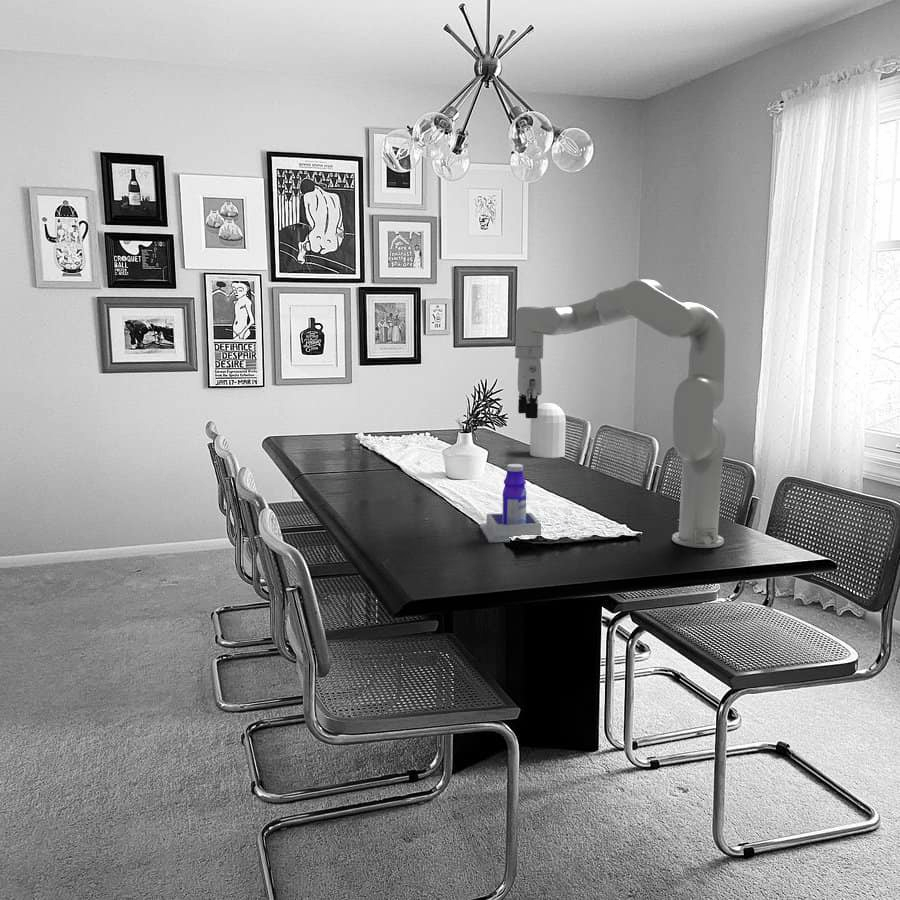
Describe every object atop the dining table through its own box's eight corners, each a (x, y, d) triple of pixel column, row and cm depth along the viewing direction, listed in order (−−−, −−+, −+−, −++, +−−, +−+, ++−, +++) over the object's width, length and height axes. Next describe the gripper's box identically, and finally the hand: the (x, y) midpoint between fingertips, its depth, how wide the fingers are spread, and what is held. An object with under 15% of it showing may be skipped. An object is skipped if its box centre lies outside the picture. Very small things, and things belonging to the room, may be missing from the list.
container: (525, 451, 359) (526, 400, 356) (558, 451, 362) (560, 400, 358) (535, 458, 346) (536, 405, 343) (569, 457, 349) (571, 404, 345)
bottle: (520, 535, 235) (521, 468, 232) (498, 533, 237) (500, 466, 234) (528, 529, 241) (530, 463, 238) (508, 526, 243) (509, 461, 240)
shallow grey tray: (547, 540, 233) (548, 525, 232) (489, 542, 231) (489, 526, 230) (535, 525, 248) (535, 511, 247) (479, 527, 246) (480, 512, 245)
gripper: (550, 355, 242) (548, 420, 245) (535, 350, 259) (534, 411, 262) (521, 355, 241) (520, 420, 244) (509, 350, 258) (508, 411, 261)
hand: (527, 415), depth 253 cm, fingers open, 9 cm apart
